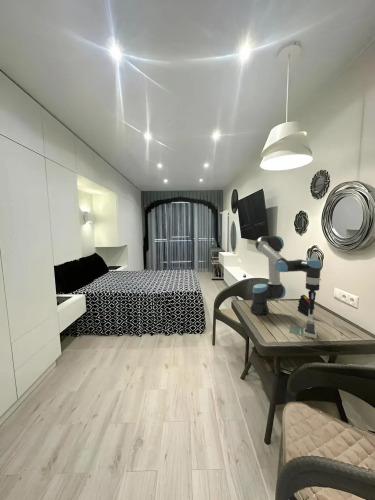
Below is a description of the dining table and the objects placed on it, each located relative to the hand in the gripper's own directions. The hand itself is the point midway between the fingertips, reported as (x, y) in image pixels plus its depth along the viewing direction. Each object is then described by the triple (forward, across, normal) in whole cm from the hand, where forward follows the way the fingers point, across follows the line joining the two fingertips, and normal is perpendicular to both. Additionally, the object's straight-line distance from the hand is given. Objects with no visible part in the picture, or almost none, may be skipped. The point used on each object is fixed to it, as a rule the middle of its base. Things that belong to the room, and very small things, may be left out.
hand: (310, 318), depth 131 cm
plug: (+11, 0, 0) cm, 11 cm away
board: (+12, +2, +4) cm, 13 cm away
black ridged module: (+13, +38, +2) cm, 40 cm away
